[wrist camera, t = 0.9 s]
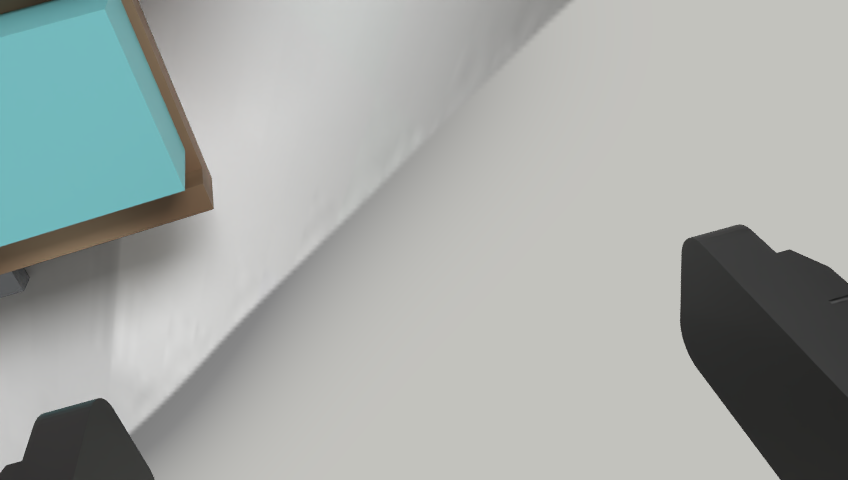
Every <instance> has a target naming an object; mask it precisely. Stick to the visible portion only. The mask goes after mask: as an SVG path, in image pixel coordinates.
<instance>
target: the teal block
mask: <svg viewBox="0 0 848 480" xmlns="http://www.w3.org/2000/svg"><path fill="white" fill-rule="evenodd" d="M182 191H185V149H184V147H183V144H182V142H181V140H180V137H179V135H178V133H177V130H176V128H175V126H174V123H173V121H172V118H171V116H170V114H169V111H168V109H167V107H166V104H165V102H164V100H163V97H162V95H161V93H160V90H159V88H158V86H157V83H156V81H155V79H154V76H153V74H152V72H151V69H150V67H149V65H148V62H147V60H146V58H145V55H144V53H143V51H142V48H141V46H140V44H139V41H138V39H137V37H136V34H135V32H134V30H133V27H132V25H131V23H130V20H129V18H128V16H127V13H126V11H125V9H124V6H123V4H122V2H121V0H52V1H48V2H44V3H40V4H37V5H33V6H29V7H25V8H22V9H18V10H14V11H11V12H7V13H3V14H0V247H1V246H4V245H8V244H11V243H14V242H17V241H21V240H24V239H27V238H31V237H34V236H37V235H40V234H44V233H47V232H50V231H54V230H57V229H60V228H63V227H67V226H70V225H73V224H77V223H80V222H83V221H86V220H90V219H93V218H96V217H100V216H103V215H106V214H109V213H113V212H116V211H119V210H123V209H126V208H129V207H132V206H136V205H139V204H142V203H146V202H149V201H152V200H155V199H159V198H162V197H165V196H169V195H172V194H175V193H178V192H182Z"/></svg>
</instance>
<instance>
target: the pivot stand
mask: <svg viewBox="0 0 848 480" xmlns="http://www.w3.org/2000/svg"><path fill="white" fill-rule="evenodd" d="M28 280H29V276H28V275H27V273H26V271H25V270H24V268H21V269H18V270H14V271H11V272H8V273H5V274H1V275H0V298H1V297H4V296H8V295H11V294H15V293H18V292H22V291H24V290H25V287H26V285H27V283H28Z"/></svg>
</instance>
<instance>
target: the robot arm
mask: <svg viewBox="0 0 848 480" xmlns="http://www.w3.org/2000/svg"><path fill="white" fill-rule="evenodd" d="M680 323H681V324H680V325H681V332H682V337H683V340H684V343H685V346H686V349H687V351H688V354H689V356H690V358H691V359H692V361H693V363H694V365H695V366H696V367H697V369H698V370H699V371H700V373H701V374H702V375H703V377H704V378H705V379H706V381H707V382H708V383H709V385H710V386H711V387H712V389H713V390H714V391H715V393H716V394H717V395H718V397H719V398H720V399H721V401H722V402H723V404H724V405H725V406H726V408H727V409H728V410H729V411H730V413H731V414H732V415H733V417H734V418H735V420H736V421H737V422H738V423H739V425H740V426H741V427H742V429H743V430H744V432H745V433H746V434H747V436H748V437H749V438H750V440H751V441H752V442H753V444H754V445H755V446H756V447H757V449H758V450H759V452H760V453H761V454H762V456H763V457H764V458H765V459H766V461H767V462H768V464H769V465H770V466H771V467H772V469H773V470H774V472H775V473H776V474H777V476H778V477H779V478H780V479H781V480H848V283H847V282H846V281H845V280H844V279H842V278H841V277H840V276H839V275H838V274H836V272H834V271H833V270H832V269H831V268H829V267H828V266H826V265H823V264H821V263H819V262H817V261H814V260H812V259H810V258H808V257H805V256H803V255H801V254H799V253H796V252H794V251H792V250H786V251H783V252H779V253H776V252H775V251H774V250H772V249H771V248H770V247H769V246H768V245H767V244H766V243H765V242H764V241H763V240H762V239H760V238H759V237H758V236H757V235H756V234H755V233H754V232H753V231H752V230H751V229H749V228H748V227H746V226H744V225H735V226H732V227H728V228H724V229H720V230H717V231H713V232H710V233H706V234H702V235H699V236H695V237H691V238H688V239H687V240H686V241H685V242H684V244H683V247H682V263H681V312H680ZM0 480H154V477H153V475H152V473H151V470H150V469H149V467H148V465H147V464H146V462H145V460H144V459H143V457H142V455H141V454H140V452H139V451H138V449H137V447H136V445H135V444H134V442H133V441H132V439H131V437H130V436H129V434H128V432H127V431H126V429H125V427H124V426H123V424H122V422H121V421H120V419H119V417H118V416H117V414H116V413H115V411H114V409H113V408H112V406H111V405H110V404H109V403H108V402H107V401H106V400H105V399H102V398H98V399H94V400H91V401H87V402H84V403H80V404H76V405H73V406H69V407H65V408H62V409H58V410H54V411H51V412H47V413H44V414H41V415H40V416H39V417H38V418H37V420H36V421H35V424H34V426H33V429H32V432H31V435H30V438H29V442H28V445H27V448H26V451H25V454H24V457H23V460H22V461H20V462H17V463H13V464H10V465H6V466H5V468H4V469H3V470H2V472H1V473H0Z"/></svg>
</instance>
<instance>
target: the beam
mask: <svg viewBox="0 0 848 480" xmlns="http://www.w3.org/2000/svg"><path fill="white" fill-rule="evenodd" d="M48 1H52V0H0V14H3V13H7V12H11V11H14V10H18V9H22V8H25V7H29V6H33V5H37V4H40V3H44V2H48ZM121 2H122V4H123V6H124V9H125V11H126V13H127V16H128V18H129V20H130V23H131V25H132V27H133V30H134V32H135V34H136V37H137V39H138V41H139V44H140V46H141V48H142V51H143V53H144V55H145V58H146V60H147V62H148V65H149V67H150V69H151V72H152V74H153V76H154V79H155V81H156V83H157V86H158V88H159V90H160V93H161V95H162V97H163V100H164V102H165V104H166V107H167V109H168V111H169V114H170V116H171V118H172V121H173V123H174V126H175V128H176V130H177V133H178V135H179V137H180V140H181V142H182V144H183V147H184V149H185V191H182V192H178V193H175V194H172V195H169V196H165V197H162V198H159V199H155V200H152V201H149V202H146V203H142V204H139V205H136V206H132V207H129V208H126V209H123V210H119V211H116V212H113V213H109V214H106V215H103V216H100V217H96V218H93V219H90V220H86V221H83V222H80V223H77V224H73V225H70V226H67V227H63V228H60V229H57V230H54V231H50V232H47V233H44V234H40V235H37V236H34V237H31V238H27V239H24V240H21V241H17V242H14V243H11V244H8V245H4V246H1V247H0V275H1V274H5V273H8V272H11V271H14V270H18V269H21V268H24V267H27V266H31V265H34V264H37V263H40V262H43V261H47V260H50V259H53V258H56V257H60V256H63V255H66V254H69V253H73V252H76V251H79V250H82V249H86V248H89V247H92V246H95V245H99V244H102V243H105V242H108V241H111V240H115V239H118V238H121V237H124V236H128V235H131V234H134V233H137V232H141V231H144V230H147V229H150V228H154V227H157V226H160V225H163V224H167V223H170V222H173V221H176V220H180V219H183V218H186V217H189V216H192V215H196V214H199V213H202V212H205V211H209V210H212V209H214V207H213V191H212V178H211V175H210V173H209V170H208V168H207V166H206V163H205V161H204V158H203V156H202V153H201V151H200V149H199V146H198V144H197V141H196V139H195V137H194V134H193V132H192V129H191V127H190V125H189V122H188V120H187V117H186V115H185V112H184V110H183V108H182V105H181V103H180V100H179V98H178V96H177V93H176V91H175V88H174V86H173V84H172V81H171V79H170V76H169V74H168V71H167V69H166V67H165V64H164V62H163V59H162V57H161V55H160V52H159V50H158V47H157V45H156V43H155V40H154V38H153V35H152V33H151V30H150V28H149V26H148V23H147V21H146V18H145V16H144V14H143V11H142V9H141V6H140V4H139V1H138V0H121Z"/></svg>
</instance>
